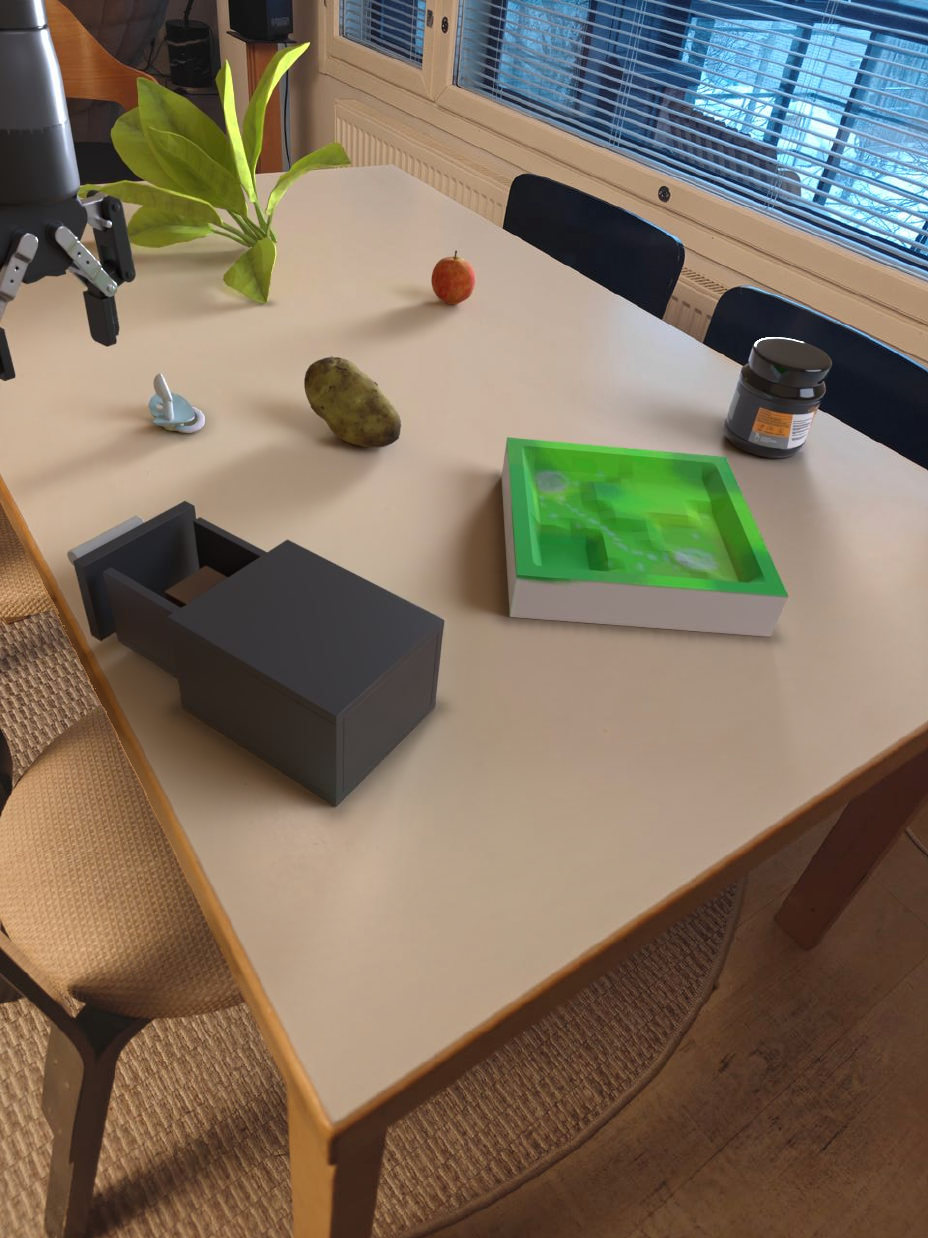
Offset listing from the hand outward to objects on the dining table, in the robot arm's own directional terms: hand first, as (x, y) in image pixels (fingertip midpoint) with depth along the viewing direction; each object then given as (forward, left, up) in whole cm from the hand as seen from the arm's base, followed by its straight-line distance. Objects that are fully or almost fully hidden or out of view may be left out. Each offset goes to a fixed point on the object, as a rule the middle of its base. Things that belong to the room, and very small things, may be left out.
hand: (55, 358), depth 63 cm
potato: (+37, +2, -22) cm, 43 cm away
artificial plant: (+67, +54, -22) cm, 89 cm away
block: (0, -13, -20) cm, 24 cm away
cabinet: (0, -24, -22) cm, 32 cm away
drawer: (0, -10, -21) cm, 23 cm away
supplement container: (+72, -38, -22) cm, 84 cm away
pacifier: (+25, +18, -22) cm, 38 cm away
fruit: (+81, +17, -22) cm, 86 cm away
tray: (+38, -34, -22) cm, 55 cm away
